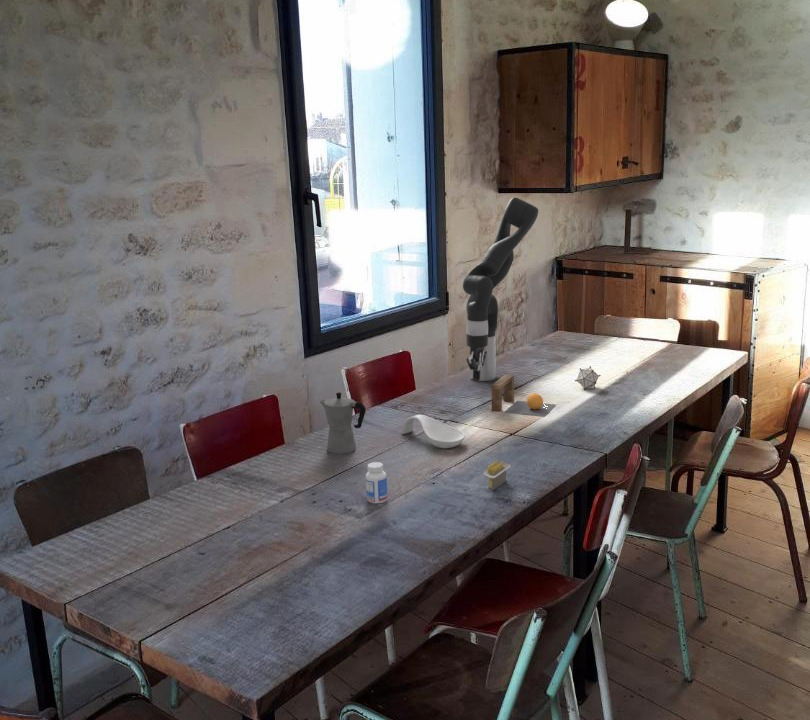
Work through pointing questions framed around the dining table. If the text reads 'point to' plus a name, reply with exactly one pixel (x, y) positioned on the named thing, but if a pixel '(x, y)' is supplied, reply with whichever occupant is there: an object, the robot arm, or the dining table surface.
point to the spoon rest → (435, 431)
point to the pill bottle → (376, 483)
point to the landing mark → (528, 409)
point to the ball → (534, 401)
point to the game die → (587, 378)
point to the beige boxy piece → (496, 474)
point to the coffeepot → (341, 423)
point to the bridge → (497, 392)
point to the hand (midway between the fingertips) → (476, 380)
